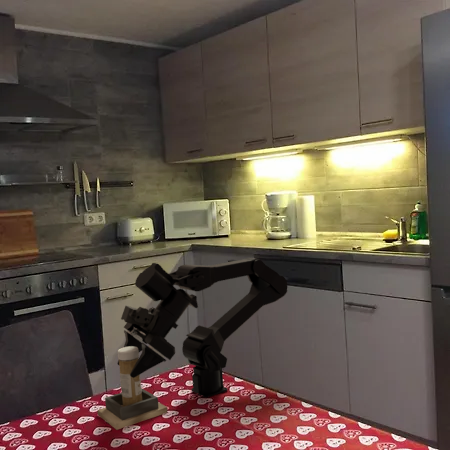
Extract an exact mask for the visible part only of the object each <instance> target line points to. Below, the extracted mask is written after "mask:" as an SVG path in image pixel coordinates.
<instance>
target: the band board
mask: <svg viewBox="0 0 450 450" xmlns="http://www.w3.org/2000/svg"><path fill="white" fill-rule="evenodd" d="M141 390H142V392H141V393H142V401H140V402H137V403H134V404H131V405H127V406H124V407H123V399H122V392H119V393H116V394H113V395H109V396H107V397H105V398H104V400H105V401H104V402H105V407H102V408H99V409H97V416H98V417H100V418H101V419H102V420H104V421H105V422H106V423H107V424H109V425H110V426H111V427H112V428H114V429H115V430H116V431H118V430H120V429H123V428H126V427H129V426H132V425H134V424H137V423H141V422H143V421H146V420H149V419H153V418H155V417H158V416H161V415H164V414H167V413H168V406H166V405H164V404H163V403H160V402H159V397H158V396H157V395H155V394H153V393H151V392H149V391H147V390H145V389H144V388H142V387H141Z"/></svg>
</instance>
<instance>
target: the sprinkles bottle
mask: <svg viewBox="0 0 450 450" xmlns="http://www.w3.org/2000/svg"><path fill="white" fill-rule="evenodd" d="M139 357H140V352H139V350H138V348H137V347H134V346H129V347H124V346H123V347H122V348H119V349H118V350H117V359H118V360H119V365H118V367H119V380H120V389H121V393H122V399H123V407H124V406H127V405H131V404H134V403H137V402H140V401H142V393H141V392H142V390H141V388H142V382H141V374H140V375H138V376H136V377H135V378H132V377H131V376H130V373H131V371H132V369H133V367H134V366H135V364H136V362H137V360H138V359H139Z"/></svg>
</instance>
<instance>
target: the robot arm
mask: <svg viewBox="0 0 450 450" xmlns="http://www.w3.org/2000/svg"><path fill="white" fill-rule="evenodd" d="M242 277H247V278H248V281H249V282H250V283H251V285H250V288H249V292H248V293H247V294H246V295H245V296H244V297H243V298H241V299H240V300H239V301H238V302H237V303H236V304H235V305H233V306H232V307H231V308H230V309H229V310H228V311H227V312H225V313H224V314H223V315H222V316H220V317H219V319H218V320H216V321H215V322H214V323H213V324H211V326H209V327H207V326H203V325H197V326H196V327H195V328H194V329H193V330H192V331H191V332H189V333H187V334H186V335H185V336H186V338H184V340H183V342H182V347H181V348H182V355H183V356H184V358H185V359H187V360H188V363H189V365H191V366H194V367H192V369H193V371H192V372H193V373H192V375H191V379H192V388H191V389H190V390H191V392H193V393H195V394H197V395H198V396H201V397H202V398H210V397H213V396H215V395H218V394H219V395H220V394H221V393H225V392H227V391H228V387H225V386H224V377H223V376H224V375H223V374H224V373H223V369H225V368H226V367H227V361H228V358H227V357H226V356H225V355H224V354H222V351H223V347H224V343H225V341H227V339H229V338H230V336H232V335H233V334H234V333H236V331H237V330H239V328H241V327H242V326H243V325H244V324H245V323H246V322H247V321H248V320H249V319H251V317H253V316H254V315H255V314H256V313H257V312H258V311H260V309H261V308H262V307H264V306H267V305H270V304H273V303H275V302H277V301H279V300H280V299H282V298H283V297H285V296H286V294H287V293H288V282H287V279H286V277H284V276H283V275H280V274H279V273H278V271H276V270H274V269H272V268H271V267H269V266H268V265H267V264H265V263H264V261H263V260H261V259H259V258H254V257H245V258H243V259H238V260H233V261H228V262H222V263H215V264H211V265H202V264H201V265H200V264H182V265H179V267H178V268H177V270H176V271H173V272H169V273H168V272H167V271H166V270H165V269H164V268H163V267H162V266H161V264H160V263H158V262H157V263H156V262H152V263H151V265H150V266H148V267H146V268H145V269H144V270H143V271H142V272H140V273H139V274H138V276H137V278H136V279H135V283H134V284H135V287H136V288H138V289H139V290H140V291H141V292H143V294H145V295H146V296H147V297H148V298H149V299H151V300H153V302H159V303H158V304H157V305H156V307H153V306H152V307H150V308H149V309H148V308H146V307H145V308H144V307H142V306H139V307H138V308H136V307H132V306H129V305H125V306H124V309H123V313H122V315H121V317H120V320H122V321H124V322H125V325H124V326H123V328H124V330H123V333H124V337H125V342H124V345H123V347H129V346H134V347H137V348H138V350H139V353H140V354H139V358H138V360H137V362H136V364H135V366H134V367H133V369H132V371H131V373H130V376H131V377H132V378H135V377H136V376H138V375H140V376H141V374H143V373H146V372H147V371H148V370H151V369H152V368H154V367H156V366H157V365H160V364H162V363H163V362H164V363H165V362H166V361H167V360H169V361H171V360H172V359H173V357H174V356H175V354H176V348H175V346H174V345H173V344H172V343H170V342H169V341H168V340H167V339H166V338H167V336H168V335H169V333H170V332H171V330H172V329H175V330H176V329H177V328H178V326H179V324H177V322H178V321H179V319H180V318H181V316H182V315H183V314H184V313H185V311H186V309H188V307H189V306H190V307H192V308H194V309H198V308H199V306H198V305H199V304H198V301H197V300H198V299H197V298H198V297H197V295H195V294H192V293H191V294H189V293H188V292H187V291H192V292H201V291H203V290H206V289H208V288H210V287H212V286H213V285H214V284H215V283H218V282H223V281H226V280H232V279H237V278H242ZM175 286H177V287H178V288H176V287H175ZM185 290H187V291H185ZM116 363H117V366H119V359H118V361H117V362H116Z"/></svg>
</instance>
